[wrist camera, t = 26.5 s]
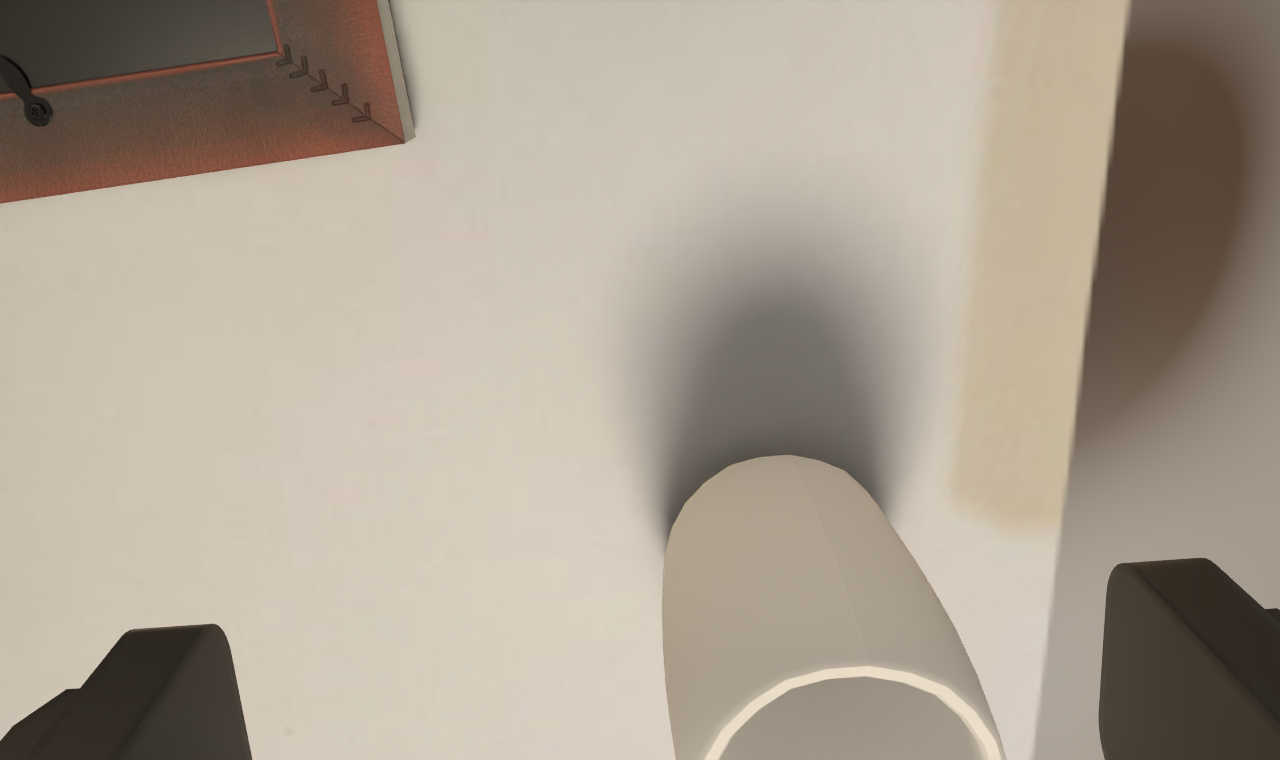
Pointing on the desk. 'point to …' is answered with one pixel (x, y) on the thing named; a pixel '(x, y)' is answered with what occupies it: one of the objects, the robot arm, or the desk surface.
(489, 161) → the desk surface
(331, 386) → the desk surface
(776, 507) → the cup
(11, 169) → the picture frame
